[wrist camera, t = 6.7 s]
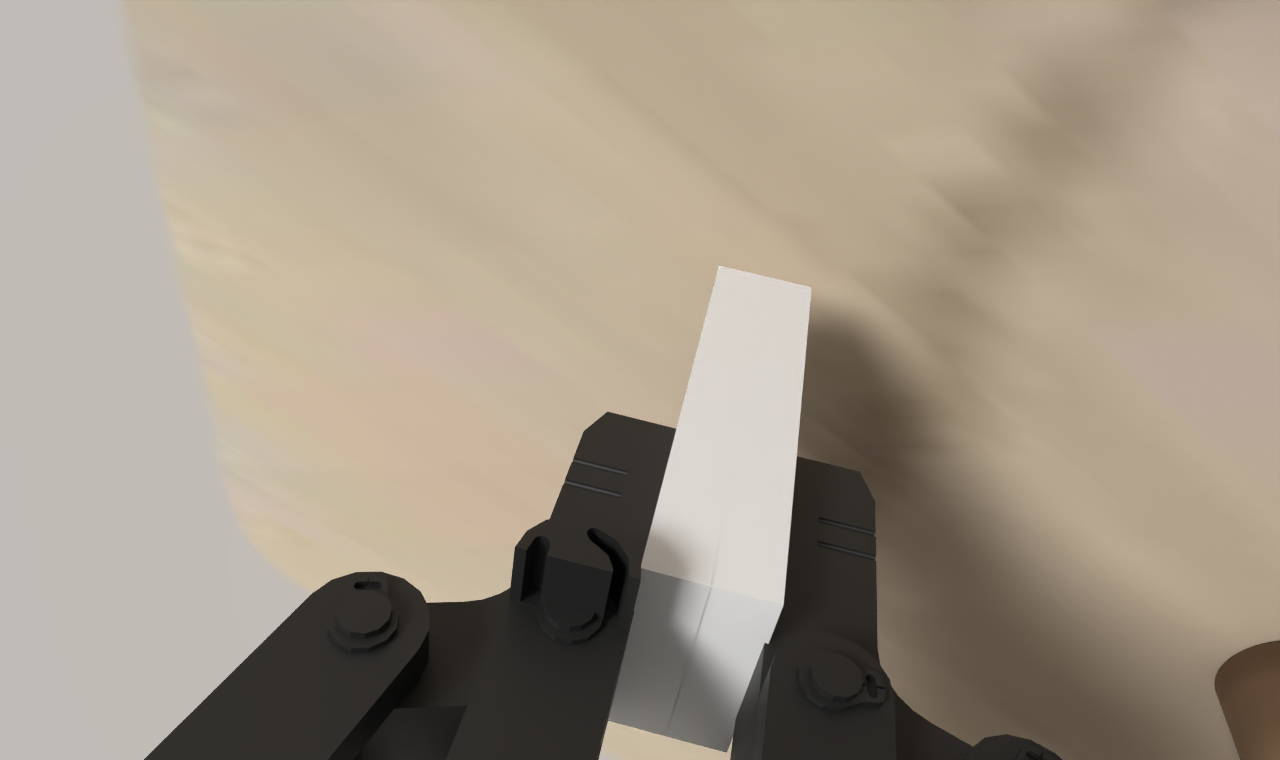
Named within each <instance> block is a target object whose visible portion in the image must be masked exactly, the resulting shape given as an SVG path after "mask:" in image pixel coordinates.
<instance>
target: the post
mask: <svg viewBox="0 0 1280 760" xmlns="http://www.w3.org/2000/svg"><path fill="white" fill-rule="evenodd" d="M1215 690H1216V693H1217V696H1218V699H1219V701H1220V704H1221V707H1222V710H1223V712H1224V715H1225V718H1226V721H1227V723H1228V726H1229V729H1230V732H1231V734H1232V737H1233V740H1234V743H1235V745H1236V748H1237V751H1238V754H1239V756H1240V759H1241V760H1280V641H1275V642H1269V643H1264V644H1260V645H1257V646H1254V647H1251V648H1248V649H1246V650H1244V651H1241V652H1239V653H1238V654H1236V655H1234V656H1233V657H1231V658H1230V659H1229V660H1227V661H1226V662H1225V663H1224V664H1223V665H1222V666H1221V668H1220V669H1219V671H1218V673H1217V675H1216V678H1215Z"/></svg>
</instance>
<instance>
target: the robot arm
mask: <svg viewBox="0 0 1280 760" xmlns="http://www.w3.org/2000/svg"><path fill="white" fill-rule="evenodd" d="M811 289H812V287H808V286H803V285H799V284H795V283H791V282H787V281H782V280H778V279H774V278H770V277H765V276H761V275H757V274H753V273H749V272H744V271H740V270H736V269H732V268H727V267H723V266H719V268H718V272H717V275H716V279H715V283H714V287H713V291H712V295H711V298H710V302H709V306H708V310H707V314H706V318H705V321H704V325H703V329H702V333H701V337H700V341H699V345H698V348H697V352H696V356H695V360H694V364H693V368H692V371H691V375H690V379H689V383H688V387H687V391H686V394H685V398H684V402H683V406H682V410H681V414H680V417H679V421H678V425H677V429H675V428H671V427H667V426H663V425H659V424H655V423H651V422H647V421H643V420H639V419H635V418H631V417H627V416H623V415H619V414H615V413H610V412H607V413H605V414H604V415H603V416H602V417H601V418H599V419H598V420H597V421H596V422H594V423H593V424H592V425H591V426H590V427H588V428H587V429H586V430H585V431H584V432H583V435H582V438H581V440H580V443H579V445H578V448H577V450H576V453H575V456H574V459H573V462H572V463H571V466H570V468H569V471H568V474H567V476H566V479H565V483H564V484H563V486H562V489H561V492H560V494H559V497H558V499H557V502H556V504H555V507H554V510H553V512H552V515H551V517H550V519H549V520H545V521H543V522H542V523H540V524H538V525H536V526H535V527H533V528H531V529H529V530H528V531H527V532H526V533H525V534H524V536H523V537H522V538H521V540H520V541H519V542H518V544H517V545H516V547H515V552H514V561H513V570H512V579H511V588H509V589H508V590H506V591H504V592H502V593H501V594H498V595H495V596H492V597H489V598H486V599H483V600H476V601H468V602H441V603H426V601H425V599H424V597H423V595H422V593H421V592H420V591H419V590H418V589H417V588H415V587H414V586H413V585H411V584H410V583H409V582H407V581H406V580H405V579H403V578H400V577H397V576H393V575H390V574H387V573H383V572H355V573H352V574H349V575H346V576H343V577H339V578H336V579H333V580H331V581H330V582H328V583H327V584H325V585H324V586H322V587H321V588H320V589H318V590H317V591H315V592H314V593H312V594H311V595H310V596H309V597H308V598H307V599H306V600H305V601H304V602H303V603H302V604H301V605H300V606H299V607H298V608H297V609H296V610H295V611H294V612H293V613H292V614H291V615H290V616H289V617H288V618H287V619H286V620H285V621H284V622H283V623H282V624H281V625H280V626H279V627H278V628H277V629H276V630H275V631H274V632H273V633H272V634H271V635H270V636H269V637H268V638H267V639H266V640H265V641H264V642H263V643H262V644H261V645H260V646H259V647H258V648H257V649H256V650H254V652H252V653H251V654H250V655H249V656H248V658H246V659H245V660H244V661H243V663H241V664H240V665H239V666H238V667H237V668H236V669H235V671H233V672H232V673H231V674H230V675H229V676H228V677H227V678H226V679H225V680H224V681H223V682H222V683H221V684H220V685H219V686H218V687H217V688H216V689H215V690H214V691H213V692H212V693H211V694H210V695H209V696H208V697H207V698H206V699H205V700H204V701H203V702H202V703H201V704H200V705H199V706H198V707H197V708H196V709H195V710H194V711H193V712H192V713H191V714H190V715H189V716H188V717H187V718H186V719H185V720H184V721H183V722H182V723H180V724H179V725H178V726H177V728H175V729H174V730H173V731H172V732H171V733H170V734H169V735H168V736H167V737H166V738H165V739H164V740H163V741H162V742H161V743H160V744H159V745H158V746H157V747H156V748H155V749H154V750H153V751H152V752H151V753H150V754H149V755H148V756H147V757H146V758H145V759H144V760H598V759H599V755H600V750H601V746H602V742H603V738H604V734H605V730H606V726H607V722H608V721H612V722H615V723H619V724H623V725H627V726H630V727H634V728H638V729H641V730H645V731H649V732H652V733H656V734H660V735H664V736H667V737H671V738H675V739H678V740H682V741H686V742H690V743H693V744H697V745H701V746H704V747H708V748H712V749H716V750H719V751H723V752H727V750H728V748H729V745H730V743H731V740H732V738H733V743H732V751H731V759H730V760H1062V759H1061V758H1060V757H1059V756H1057V755H1056V754H1055V753H1053V752H1051V751H1049V750H1048V749H1046V748H1044V747H1042V746H1041V745H1039V744H1037V743H1035V742H1033V741H1032V740H1028V739H1024V738H1019V737H1015V736H1010V735H1000V736H993V737H987V738H984V739H983V740H981V741H980V742H979V743H978V744H976V745H975V746H974V747H972V746H970V745H969V744H967V743H965V742H963V741H962V740H960V739H958V738H956V737H955V736H953V735H951V734H949V733H948V732H946V731H944V730H942V729H941V728H939V727H937V726H935V725H934V724H932V723H930V722H929V721H927V720H926V719H924V718H923V717H921V716H920V715H919V714H917V713H916V712H914V711H913V710H912V709H911V708H910V707H909V706H908V705H907V704H906V703H905V702H904V701H903V700H902V699H901V698H900V697H898V695H897V694H896V692H895V691H894V690H893V688H892V687H891V684H890V679H889V678H888V676H887V675H886V673H885V672H884V670H883V669H882V667H881V665H880V661H879V655H878V649H877V591H876V561H875V556H876V537H874V535H875V501H874V499H873V497H872V495H871V493H870V491H869V489H868V487H867V485H866V483H865V481H864V480H863V478H862V476H861V474H860V472H858V471H854V470H850V469H846V468H842V467H838V466H834V465H830V464H826V463H821V462H817V461H813V460H809V459H805V458H801V457H797V447H798V436H799V425H800V413H801V402H802V391H803V379H804V368H805V357H806V345H807V334H808V323H809V311H810V300H811Z"/></svg>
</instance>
